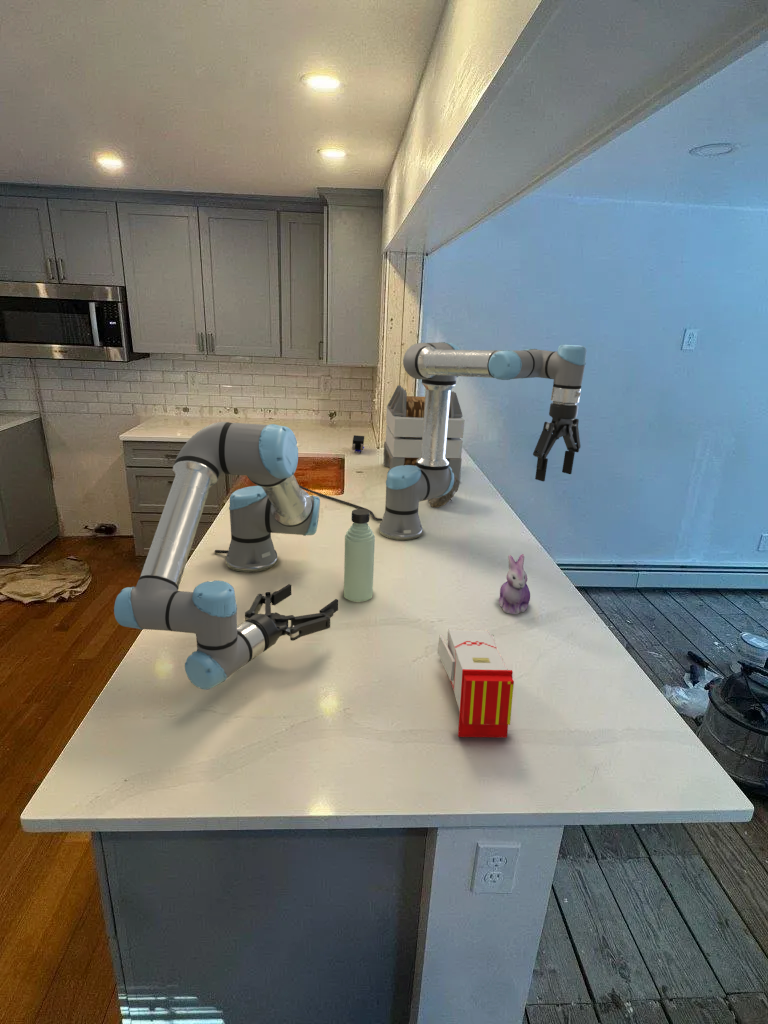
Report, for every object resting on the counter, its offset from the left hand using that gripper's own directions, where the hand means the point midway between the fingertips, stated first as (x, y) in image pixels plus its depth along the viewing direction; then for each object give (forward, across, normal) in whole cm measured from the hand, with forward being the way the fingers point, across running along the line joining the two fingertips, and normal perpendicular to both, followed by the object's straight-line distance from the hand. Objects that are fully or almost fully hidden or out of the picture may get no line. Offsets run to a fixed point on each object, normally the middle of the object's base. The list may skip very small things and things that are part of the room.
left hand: (313, 596), depth 135 cm
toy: (-2, +41, -10) cm, 42 cm away
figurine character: (+162, -86, -8) cm, 184 cm away
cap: (+22, 0, +15) cm, 26 cm away
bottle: (+22, 0, -9) cm, 24 cm away
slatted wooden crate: (+144, -40, -8) cm, 149 cm away
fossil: (+111, -14, -8) cm, 112 cm away
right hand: (+65, +39, +22) cm, 79 cm away
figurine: (+39, +38, -9) cm, 56 cm away
